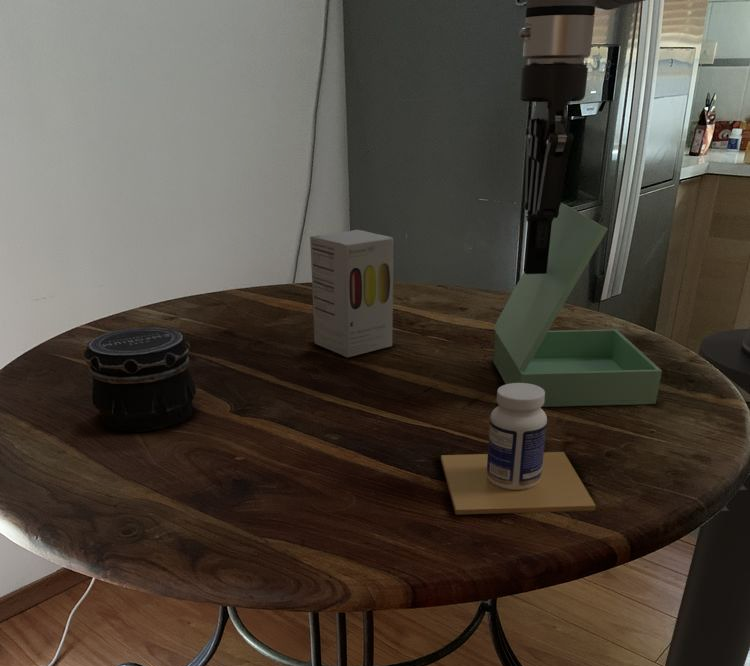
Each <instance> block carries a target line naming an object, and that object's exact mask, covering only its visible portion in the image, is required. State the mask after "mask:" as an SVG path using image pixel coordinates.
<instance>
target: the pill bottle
mask: <svg viewBox="0 0 750 666" xmlns="http://www.w3.org/2000/svg"><path fill="white" fill-rule="evenodd" d="M544 400H545V391H544V390H543V389H542V388H541V387H539V386H536V385H533V384H528V383H511V384H503V385H501V386H499V387H498V388H497V391H496V403H497V405H498V406H496V407H495V408H494V409H492V411H491V413H490V415H489V416H490V417H489V430H488V446H487V454H488V459H487V477H488V479H489V480H490V481H491V482H492V483H493V484H494V485H496V486H498V487H501V488H505V489H511V490H522V489H528V488H531V487H533V486H535V485H536V484H537V483H538V482H539V481H540V479H541V474H542V464H543V455H544V452H545V446H546V445H545V444H546V435H547V428H548V427H547V426H548V417H547V414H546V412H545V411H544V410H543V409H542V407H541V406H543V405H544Z"/></svg>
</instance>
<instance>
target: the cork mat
mask: <svg viewBox="0 0 750 666" xmlns="http://www.w3.org/2000/svg"><path fill="white" fill-rule="evenodd" d="M487 459H488V453H475V454H473V453H472V454H471V453H470V454H441V455H440V463H441V466H442V470H443V473H444V477H445V482H446V485H447V489H448V492H449V495H450V500H451V503H452V507H453V510H454V514H455V515H456V516H461V515H464V516H465V515H494V514H496V515H497V514H523V513H524V514H525V513H527V514H529V513H556V512H557V513H559V512H585V511H586V512H589V511H590V512H591V511H593V512H594V511H596V506H597V505H596V503H595V502H594V500H593V498H592V497H591V494H590V493H589V491H588V489H587V488H586V487H585V485H584V483H583V482H582V480H581V478H580V477H579V474H578V473H577V472H576V470H575V468H574V467H573V465H572V464H571V462H570V460H569V458H568V457H567V455H566V453H565V451H544V455H543V464H542V474H541V479H540V481H539V482H538V483H537V484H536V485H535V486H533V487H531V488H528V489H522V490H511V489H505V488H501V487H498V486H496V485H494V484H493V483H492V482H491V481H490V480H489V479H488V477H487Z"/></svg>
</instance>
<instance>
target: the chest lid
mask: <svg viewBox="0 0 750 666" xmlns="http://www.w3.org/2000/svg"><path fill="white" fill-rule="evenodd" d="M607 231H608V228H607V227H605V226H604V225H601V224H600V223H598V222H596V221H595V220H593V219H591V218H589V217H588V216H586V215H585V214H583V213H581V212H579V211H577V210H575V209H574V208H572V207H570V206H569V205H567V204H566V203H563V202H560V207H559V214H558V217H557V218H554V219H553V221H552V226H551V236H550V245H549V255H548V265H547V274H525V273H524V272H522V274H521V275H520V278H519V279H518V282H517V284H515V285H516V286H515V287H514V289H513V291H512V293H511V295H510V296H509V297H508V300H507V302H506V304H505V306H504V307H503V309H502V311H501V312H500V315H499V317H498V318H497V320H496V322H495V324H494V326H493V329H494V331H495V332H496V333H497V334H498V336H499V338H500V339H501V341H502V343H503V344H504V346H505V347H506V349H507V351H508V352H509V354H510V355H511V357H512V359H513V360H514V362H515V364H516V365H517V367H518V368H519V370H521V371H523V372H525V370H526V368H527V366H528V365H529V363H530V361H531V360H532V358H533V356H534V354H535V353H536V351H537V349H538V348H539V346H540V344H541V342H542V341H543V339H544V337H545V336H546V334H547V332H548V331H550V329H551V327H552V325H553V323H554V322H555V320H556V318H557V317H558V315H559V313H560V312H561V310H562V308H563V307H564V305H565V304H566V302H567V300H568V298H569V297H570V294H571V292H573V290H574V287H575V286H576V284H577V283H578V281H579V279H580V277H581V276H582V274H583V272H584V271H585V269H586V267H587V266H588V264H589V262H590V261H591V259H592V257H593V255H594V254H595V252H596V250H597V248H598V247H599V245H600V244H601V241H602V239H603V238H604V237H605V234H606V233H607Z"/></svg>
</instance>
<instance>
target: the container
mask: <svg viewBox="0 0 750 666" xmlns="http://www.w3.org/2000/svg"><path fill="white" fill-rule="evenodd" d="M190 349H191V345H190V342H189V341H188V340H187V339H185V337H184V336H183V334H182V333H181V332H179V331H175V330H173V329H168V328H165V327H152V326H151V327H135V328H125V329H120V330H115V331H110V332H107V333H104V334H101V335H98V336H96V337H94V338H93V339H91V340H90V341H89V342H88V344H87V347H86V349H85V351H84V353H83V360H84V362H85V363H87V364H88V365H89V366H88V373H89V375H90V376H91V380H92V392H91V393H92V394H91V395H92V396H91V403H92V404H93V406H95V408H96V410H98V411H99V414H100V415H101V417H102V421H103V423H104V425H106V426H107V427H108V428H110V429H112V430H116V431H122V432H137V433H138V432H139V433H140V432H141V433H142V432H151V431H157V430H162V429H165V428H167V427H170V426H175V425H177V424H180V423H182V422H184V421H185V420H187V419H188V418H189V417H190V416H191V415H192V414H193V407H194V406H193V400H194V398H195V396H196V394H197V387H196V384H195V382H194V380H193V377H192V375H191V372H190V369H189V366H190V362H191V361H190V358H189V355H188V354H189V352H190Z"/></svg>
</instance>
